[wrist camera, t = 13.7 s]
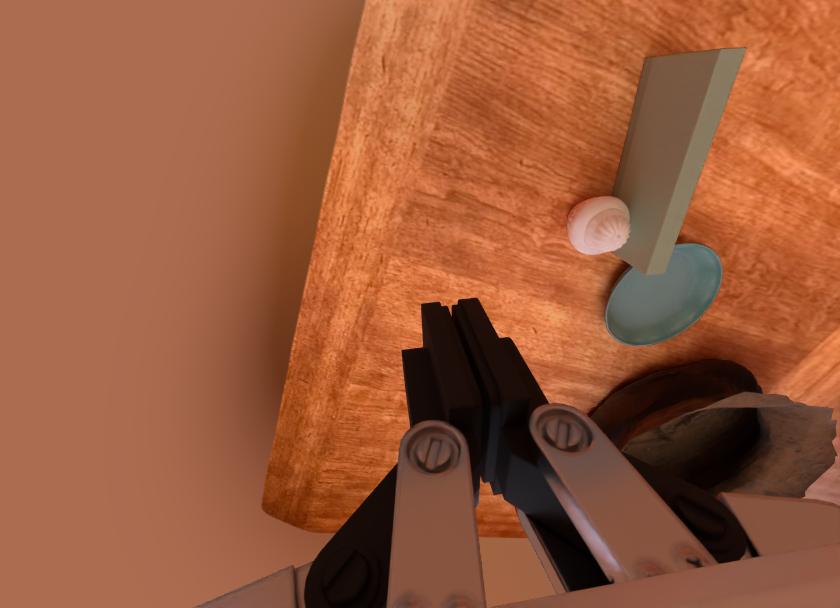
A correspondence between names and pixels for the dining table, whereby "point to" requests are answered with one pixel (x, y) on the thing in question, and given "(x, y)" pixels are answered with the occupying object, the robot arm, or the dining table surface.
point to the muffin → (599, 225)
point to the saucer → (664, 297)
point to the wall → (670, 147)
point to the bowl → (720, 430)
